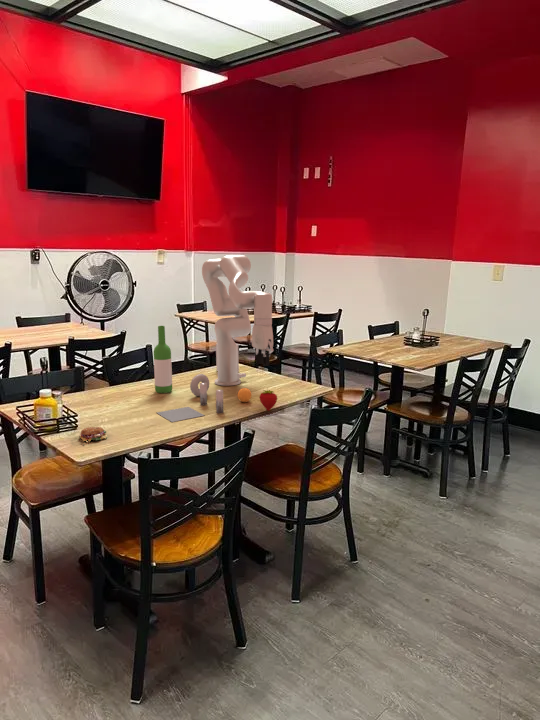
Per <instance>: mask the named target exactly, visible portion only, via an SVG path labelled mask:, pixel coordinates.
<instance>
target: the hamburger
mask: <svg viewBox="0 0 540 720" xmlns="http://www.w3.org/2000/svg"><path fill="white" fill-rule="evenodd" d="M79 435H80V436H79V437H80V439H81V440H82V441H83V442H84V441H87V440H88V441H89V442H92V441H91V440H95V441H99V440H103V439H106V437H107V438H108V435H107V431H106V430H104V428H103V427H101V426H96V427H95V426H93V427H92V426H88V427H85V428H83V429H82V430H81V431H80V433H79ZM79 437H78V438H79Z"/></svg>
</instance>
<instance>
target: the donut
mask: <svg viewBox="0 0 540 720" xmlns="http://www.w3.org/2000/svg"><path fill="white" fill-rule="evenodd" d="M200 383H207V392H208V391H209V388H210V380H209V377H207V375H206V374H204V373H198V374H196V375H194V376H193V377H192V379H191V381H190V385H189V387H190V392H191V393H192V394H193V396H195V397H200V387H199V385H200Z"/></svg>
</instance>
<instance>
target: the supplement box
mask: <svg viewBox="0 0 540 720" xmlns="http://www.w3.org/2000/svg"><path fill="white" fill-rule="evenodd" d="M236 345H237V373H240V369H239V368H240V364H239V344H237V343H236ZM215 356H216V357H215V361H216V363H215V364H216V366H215V367H216V372H217V371H218V362H217V343H216V344H215Z"/></svg>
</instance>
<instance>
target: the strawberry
mask: <svg viewBox="0 0 540 720" xmlns="http://www.w3.org/2000/svg"><path fill="white" fill-rule="evenodd" d="M262 391H263V392H261V393H260V394H259V401H260V403H261V405H262V406H263V408H265V410H266V411H267V412H269V411H271V410H272V409H273V407H274V406H275V405H276V404H277V401H278V396H277V394H275V391H273V390H270V389H269V390H268V389H266V390H262Z"/></svg>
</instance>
